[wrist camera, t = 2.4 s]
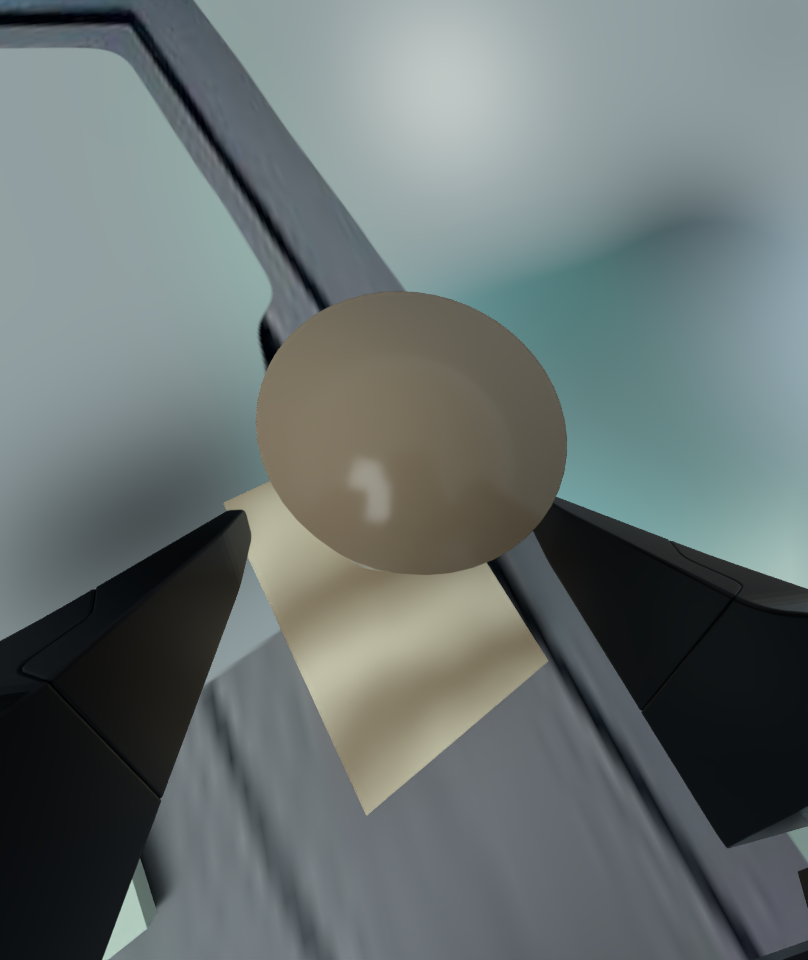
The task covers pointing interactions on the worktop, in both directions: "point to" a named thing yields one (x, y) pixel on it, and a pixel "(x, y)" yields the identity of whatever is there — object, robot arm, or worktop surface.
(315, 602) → the board
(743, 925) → the worktop surface
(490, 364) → the jar
